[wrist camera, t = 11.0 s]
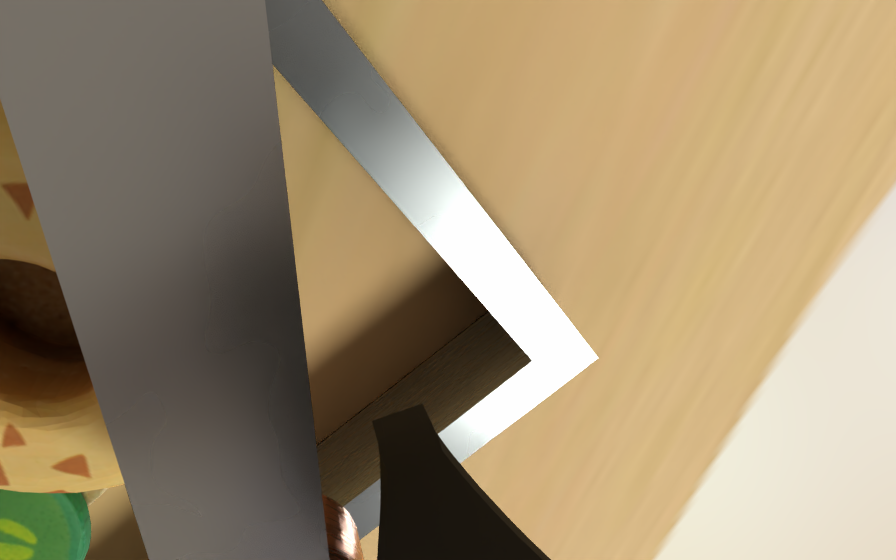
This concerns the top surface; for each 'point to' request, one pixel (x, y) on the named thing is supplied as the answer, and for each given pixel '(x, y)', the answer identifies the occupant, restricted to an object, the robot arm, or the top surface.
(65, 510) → the toy food set
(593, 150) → the top surface
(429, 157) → the tray
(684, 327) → the top surface
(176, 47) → the press arm
